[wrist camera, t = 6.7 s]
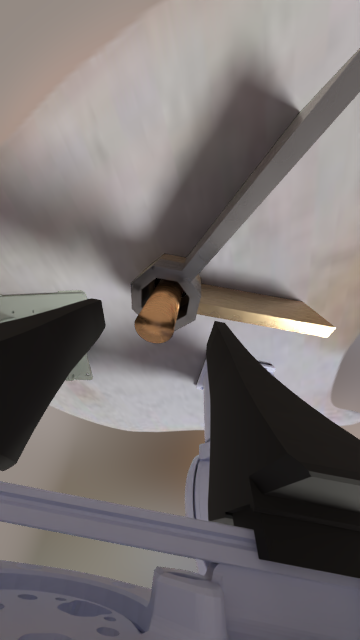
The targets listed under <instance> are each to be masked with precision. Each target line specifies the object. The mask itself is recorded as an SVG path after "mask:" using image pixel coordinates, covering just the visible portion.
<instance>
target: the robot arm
mask: <svg viewBox="0 0 360 640" xmlns="http://www.w3.org/2000/svg"><path fill="white" fill-rule="evenodd" d="M104 328H105V320H104V314H103V308H102V302H101V300H97V299H87V300H83V301H79V302H76V303H72V304H69V305H66V306H63V307H59V308H56V309H53V310H49V311H46V312H42V313H39V314H35V315H31V316H28V317H24V318H20V319H15V320H11V321H6V322H2V323H0V470H1V471H4V470H7V469H9V468H10V467H12V466H13V465H14V464H16V463H17V461H18V459H19V457H20V455H21V453H22V451H23V450H24V448H25V446H26V444H27V442H28V440H29V439H30V437H31V435H32V433H33V431H34V429H35V427H36V426H37V424H38V422H39V421H40V419H41V417H42V416H43V414H44V412H45V411H46V409H47V407H48V406H49V404H50V402H51V401H52V399H53V398H54V396H55V395H56V393H57V391H58V390H59V388H60V387H61V385H62V384H63V382H64V381H65V380H66V378H67V377H68V375H69V374H70V372H71V371H72V370H73V369H74V367H75V366H76V365H77V364H78V363H79V361H80V360H81V359H82V358H83V357H84V355H85V354H86V353H87V352H88V351H89V349H90V348H91V347H92V346H93V345H94V343H95V342H96V341H97V340H98V338H99V337H100V335H101V333H102V332H103V330H104ZM275 370H276V369H275V367H274V366H271V365H265V364H260V363H259V362H258V361H257V360H256V359H255V358H254V357H253V356H252V355H251V354H250V353H249V352H248V350H247V349H246V348H245V347H244V346H243V345H242V344H241V342H240V341H239V340H238V339H237V338H236V336H235V335H234V334H233V333H232V331H231V330H230V329H229V328H228V326H227V325H226V324H225V323H223V322H217V321H215V322H214V325H213V328H212V331H211V334H210V337H209V340H208V343H207V350H206V360H205V363H204V366H203V368H202V371H201V374H200V377H199V379H198V382H197V385H196V388H197V389H201V390H204V423H205V443H204V444H200V445H199V455H197V456H196V457H195V458H194V459H193V461H192V463H191V466H190V469H189V471H188V475H187V480H186V487H185V512H186V517H184V516H179V515H174V514H168V513H163V512H158V511H152V510H147V509H142V508H137V507H132V506H127V505H121V504H116V503H111V502H106V501H100V500H95V499H90V498H85V497H79V496H74V495H69V494H63V493H58V492H53V491H47V490H43V489H38V488H32V487H27V486H22V485H16V484H11V483H6V482H1V481H0V521H2V522H7V523H12V524H18V525H22V526H28V527H33V528H38V529H43V530H48V531H53V532H59V533H64V534H69V535H74V536H79V537H85V538H90V539H95V540H100V541H106V542H111V543H116V544H121V545H126V546H131V547H136V548H142V549H147V550H153V551H158V552H163V553H168V554H173V555H178V556H184V557H188V558H194V559H196V564H197V571H198V573H195V572H191V571H187V570H181V569H174V568H166V567H158V566H157V567H156V569H155V570H154V576H153V584H152V589H149V588H145V587H142V586H138V585H134V584H130V583H126V582H122V581H118V580H115V579H110V578H107V577H102V576H97V575H93V574H88V573H83V572H79V571H73V570H67V569H61V568H54V567H48V566H41V565H34V564H26V563H19V562H11V561H4V560H0V640H360V440H359V439H358V438H356V437H355V436H353V435H352V434H350V433H349V432H347V431H346V430H344V429H343V428H341V427H340V426H338V425H337V424H335V423H334V422H332V421H331V420H329V419H328V418H326V417H325V416H324V415H322V414H321V413H320V412H318V411H317V410H315V409H314V408H313V407H311V406H310V405H309V404H307V403H306V402H305V401H303V400H302V399H301V398H299V397H298V396H297V395H295V394H294V393H293V392H292V391H291V390H289V389H288V388H287V387H286V386H284V385H283V384H282V383H281V382H280V381H278V380H277V379H276V378H275V377H274V375H273V373H274V371H275Z"/></svg>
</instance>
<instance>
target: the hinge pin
mask: <svg viewBox="0 0 360 640" xmlns="http://www.w3.org/2000/svg"><path fill="white" fill-rule="evenodd" d="M182 293H183V288H182V287H181V285H180V284H179V283H178V282H177V281H171V280H166V279H161V280H160V282H159V283H158V285H157V287H156V288H155V290H154V291H153V293H152V294H151V296H150V298H149V299H148V301H147V302H146V304H145V305H144V307H143V309H142V310H141V312H140V313H139V315H138V316H137V318H136V320H135V329H136V332H137V333H138V334H139V336H140V337H142V338H143V339H144V340H146V341H148V342H152V343H163V342H166V341H168V340H169V339H170V338H171V337H172V335H173V332H174V328H175V324H176V319H177V315H178V310H179V306H180V301H181V297H182Z"/></svg>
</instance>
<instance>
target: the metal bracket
mask: <svg viewBox="0 0 360 640" xmlns="http://www.w3.org/2000/svg"><path fill="white" fill-rule="evenodd" d="M83 300H87V297H86V294H85V292H83V291H81V290H76V291H58V293H50V294H29V295H7V296H3V295H1V294H0V319H1V320H0V323H2V322H6V321H11V320H15V319H20V318H24V317H28V316H31V315H35V314H39V313H42V312H46V311H49V310H53V309H56V308H59V307H63V306H66V305H69V304H72V303H76V302H79V301H83ZM33 310H34V311H33ZM86 373H88V374H89V375H87V374H86ZM74 379H76V380H92V379H93V376H92V372H91V369H90V365H89V361H88V357H87V354H85V355H84V357H83V358H82V359H81V360H80V361H79V363H78V364H77V365H76V366H75V367H74V369H73V370H72V371H71V372H70V374H69V375H68V377H67V378H66V381H73V380H74Z"/></svg>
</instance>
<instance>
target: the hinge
mask: <svg viewBox="0 0 360 640" xmlns="http://www.w3.org/2000/svg"><path fill="white" fill-rule="evenodd" d="M359 92H360V48H359V50H358V51H357V52H356V53H355V54H354V55H353V56H352V57H351V58H350V59H349V60H348V61H347V62H346V63H345V64H344V66H343V67H342V68H341V69H340V70H339V71H338V72H337V73H336V74H335V75H334V76H333V77H332V78H331V79H330V80H329V82H328V83H327V84H326V85H325V86H324V87H323V88H322V89H321V90H320V91H319V92H318V93H317V94H316V95H315V96H314V98H313V99H312V100H311V101H310V102H309V103H308V104H307V105H306V106H305V107H304V108H303V109H302V110H301V111H300V113H299V114H298V115H297V117H296V118H295V119H294V120H293V122H292V123H291V124H290V126H289V127H288V128H287V129H286V131H285V132H284V133H283V135H282V136H281V137H280V138H279V140H278V141H277V142H276V143H275V145H274V146H273V147H272V149H271V150H270V151H269V152H268V154H267V155H266V156H265V158H264V159H263V160H262V161H261V163H260V164H259V165H258V167H257V168H256V169H255V170H254V172H253V173H252V174H251V176H250V177H249V178H248V179H247V181H246V182H245V183H244V184H243V186H242V187H241V188H240V190H239V191H238V192H237V193H236V195H235V196H234V197H233V199H232V200H231V201H230V202H229V204H228V205H227V206H226V208H225V209H224V210H223V211H222V213H221V214H220V215H219V217H218V218H217V219H216V220H215V222H214V223H213V224H212V225H211V227H210V228H209V229H208V231H207V232H206V233H205V234H204V236H203V237H202V238H201V240H200V241H199V242H198V243H197V245H196V246H195V247H194V249H193V250H192V251H191V252H190V254H189V255H188V256H187V258H185V257H180V256H174V255H168V254H163V255H162V256H161V257H160V258H159V259H158V260H156V261H155V262H154V263H153V264H152V265H150V266H149V267H148V268H147V269H145V270H144V271H143V272H142V273H141V274H140V275H139V276H138V277H137V278H136V279H135V280H134V281H132V282H131V297H132V309H133V310H134V311H135V312H136V313H137V314H138V315H139V313H140V312H141V310H142V309H143V307H144V305H145V304H146V302H147V301H148V299H149V298H150V296H151V294H152V293H153V291H154V290H155V278H160V279H166V280H171V281H177V282H178V283H179V284H180V285H181V287H182V288H183V290H184V291H185V292H186V294H187V295H186V296H184V297H182V298H181V301H180V306H179V310H178V315H177V319H176V324H175V328H174V331H176V330H178V329H179V328H181V327H183V326H185V325H187V324H189V323H191V322H193V321H194V320H195V319H196V315H197V314H200V315H205V316H211V317H216V318H222V319H227V320H233V321H238V322H244V323H249V324H255V325H260V326H266V327H271V328H277V329H282V330H288V331H293V332H299V333H304V334H310V335H315V336H321V337H326V338H327V337H328V336H329V335H330V334H331V333H332V332H333V331H334V330H335V329H336V328H335V327H334V326H333V325H332V324H330V323H329V322H328V321H327V320H325V319H324V318H323V317H321V316H320V315H319V314H318V313H316V312H315V311H314V310H313V309H311V308H310V307H309V306H307V305H306V304H305V303H304V302H301V301H295V300H290V299H284V298H279V297H273V296H268V295H262V294H257V293H251V292H246V291H240V290H235V289H229V288H223V287H218V286H212V285H207V284H201V277H200V276H199V273H200V272H201V270H202V269H203V268H204V267H205V266H206V265H207V264H208V263H209V261H210V260H211V259H212V258H213V257H214V256H215V255H216V254H217V252H218V251H219V250H220V249H221V248H222V247H223V246H224V244H225V243H226V242H227V241H228V240H229V239H230V238H231V237H232V235H233V234H234V233H235V232H236V231H237V230H238V229H239V228H240V226H241V225H242V224H243V223H244V222H245V221H246V220H247V219H248V217H249V216H250V215H251V214H252V213H253V212H254V211H255V209H256V208H257V207H258V206H259V205H260V204H261V203H262V202H263V200H264V199H265V198H266V197H267V196H268V195H269V194H270V193H271V191H272V190H273V189H274V188H275V187H276V186H277V185H278V184H279V182H280V181H281V180H282V179H283V178H284V177H285V176H286V174H287V173H288V172H289V171H290V170H291V169H292V168H293V167H294V165H295V164H296V163H297V162H298V161H299V160H300V159H301V158H302V156H303V155H304V154H305V153H306V152H307V151H308V150H309V149H310V147H311V146H312V145H313V144H314V143H315V142H316V141H317V139H318V138H319V137H320V136H321V135H322V134H323V133H324V132H325V130H326V129H327V128H328V127H329V126H330V125H331V124H332V123H333V121H334V120H335V119H336V118H337V117H338V116H339V115H340V114H341V112H342V111H343V110H344V109H345V108H346V107H347V106H348V104H349V103H350V102H351V101H352V100H353V99H354V98H355V97H356V95H357V94H358V93H359Z"/></svg>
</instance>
